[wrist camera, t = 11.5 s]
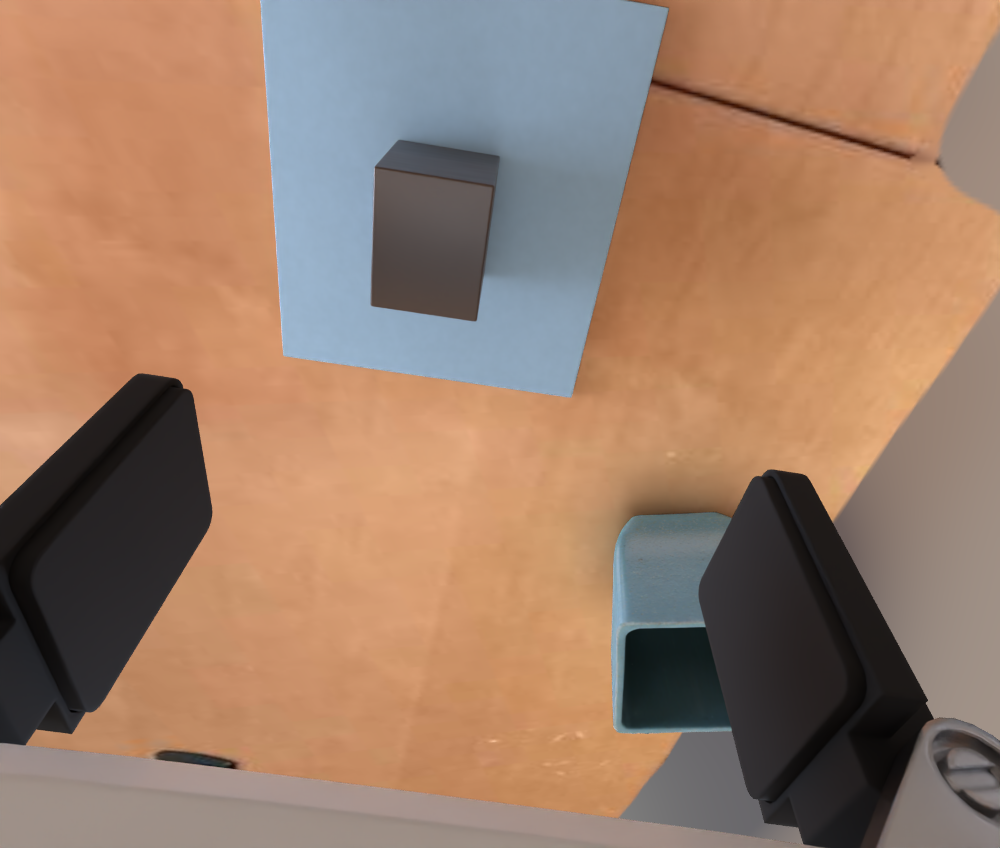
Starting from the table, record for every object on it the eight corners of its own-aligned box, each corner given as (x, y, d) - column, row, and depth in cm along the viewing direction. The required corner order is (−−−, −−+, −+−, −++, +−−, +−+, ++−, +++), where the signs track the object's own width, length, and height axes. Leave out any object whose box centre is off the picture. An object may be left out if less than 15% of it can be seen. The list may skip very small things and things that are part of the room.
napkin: (259, -66, 21) (255, -66, 20) (667, 7, 22) (669, 7, 21) (285, 352, 30) (283, 356, 30) (571, 393, 31) (571, 397, 30)
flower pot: (763, 481, 33) (829, 620, 26) (741, 590, 38) (791, 733, 31) (597, 488, 34) (617, 625, 27) (597, 594, 39) (613, 734, 32)
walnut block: (397, 138, 24) (373, 166, 20) (500, 155, 24) (494, 185, 20) (392, 263, 27) (369, 306, 23) (483, 277, 27) (476, 322, 23)
